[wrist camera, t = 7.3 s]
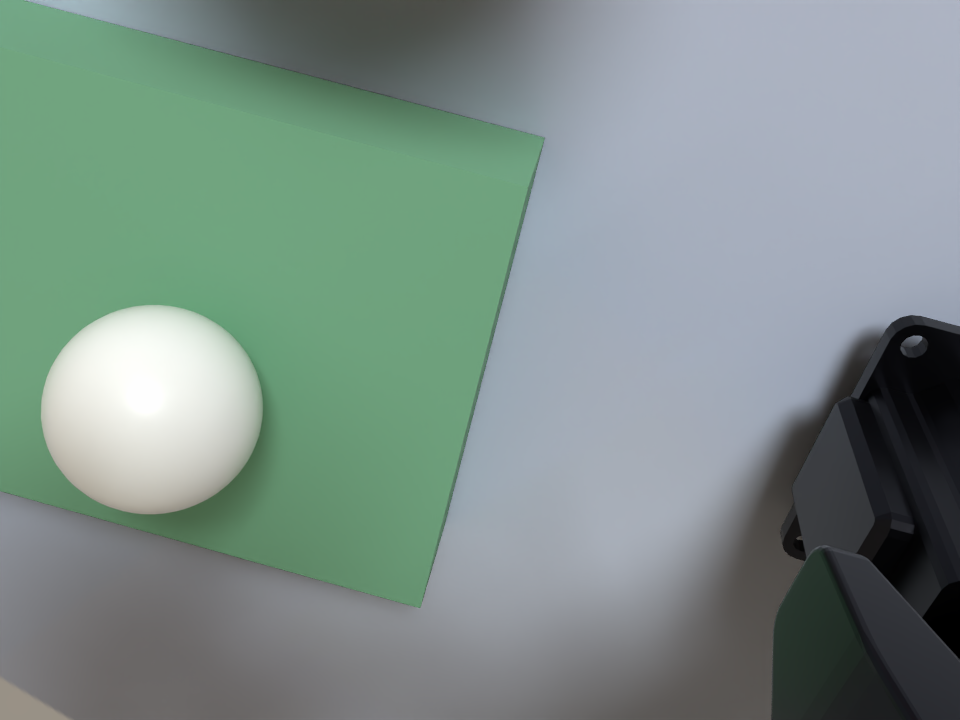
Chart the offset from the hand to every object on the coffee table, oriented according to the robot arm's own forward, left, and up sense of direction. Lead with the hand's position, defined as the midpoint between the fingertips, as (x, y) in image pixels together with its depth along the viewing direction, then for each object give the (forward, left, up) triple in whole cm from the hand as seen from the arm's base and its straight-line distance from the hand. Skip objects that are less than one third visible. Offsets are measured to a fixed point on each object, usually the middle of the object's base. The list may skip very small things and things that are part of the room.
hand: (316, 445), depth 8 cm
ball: (+4, +6, -5) cm, 9 cm away
